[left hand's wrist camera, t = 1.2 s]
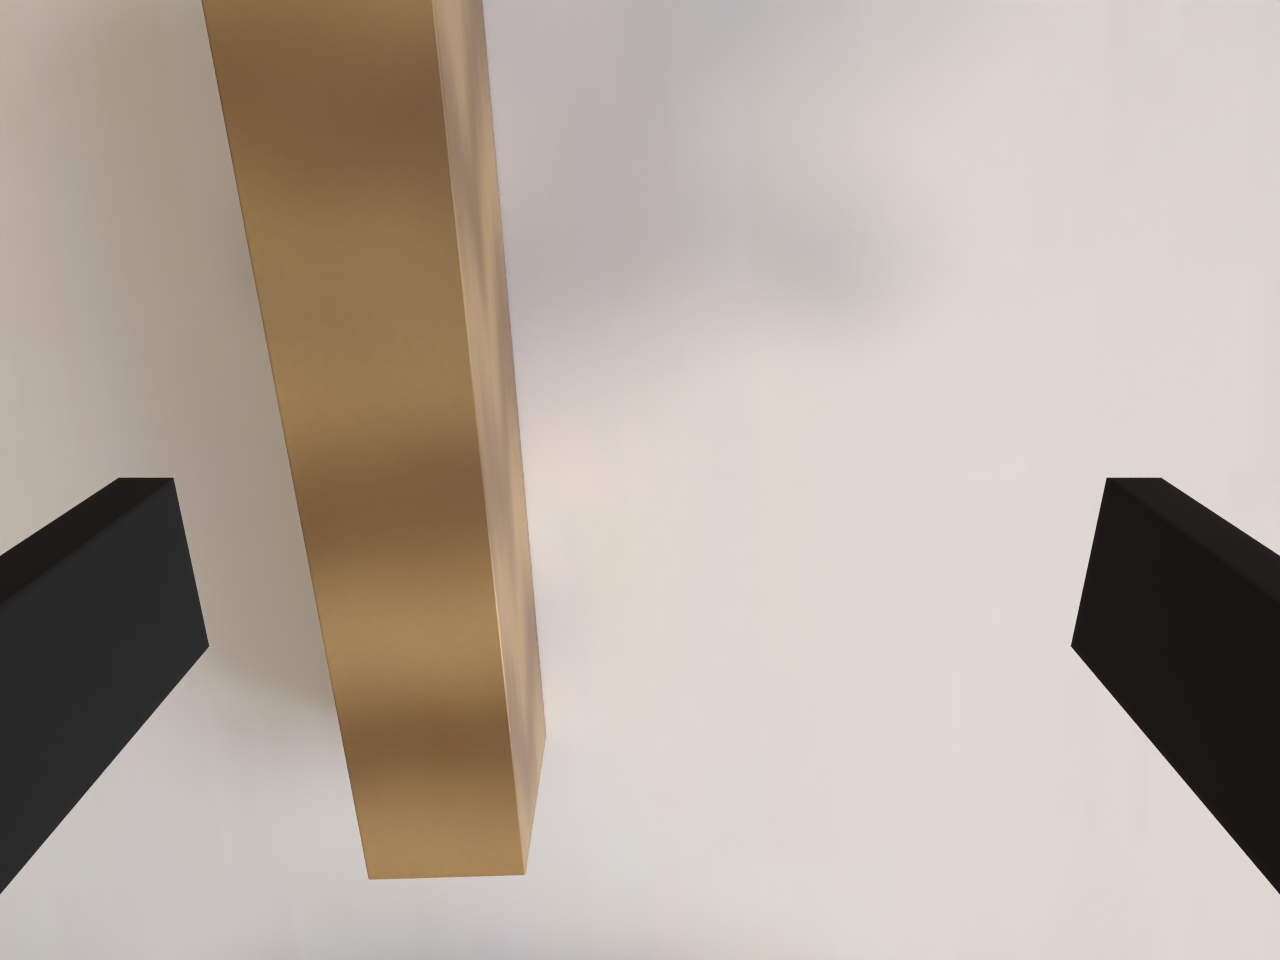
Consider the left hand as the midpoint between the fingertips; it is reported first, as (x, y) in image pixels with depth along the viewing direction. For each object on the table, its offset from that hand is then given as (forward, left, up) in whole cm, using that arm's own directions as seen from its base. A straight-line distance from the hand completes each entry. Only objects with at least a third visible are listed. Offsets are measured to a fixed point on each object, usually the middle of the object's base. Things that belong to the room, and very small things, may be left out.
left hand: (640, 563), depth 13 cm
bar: (+6, -6, -21) cm, 22 cm away
